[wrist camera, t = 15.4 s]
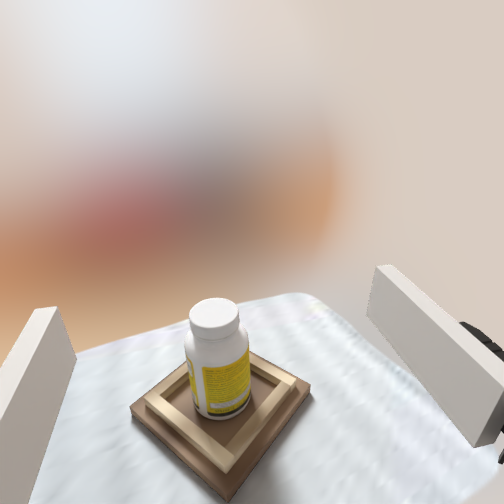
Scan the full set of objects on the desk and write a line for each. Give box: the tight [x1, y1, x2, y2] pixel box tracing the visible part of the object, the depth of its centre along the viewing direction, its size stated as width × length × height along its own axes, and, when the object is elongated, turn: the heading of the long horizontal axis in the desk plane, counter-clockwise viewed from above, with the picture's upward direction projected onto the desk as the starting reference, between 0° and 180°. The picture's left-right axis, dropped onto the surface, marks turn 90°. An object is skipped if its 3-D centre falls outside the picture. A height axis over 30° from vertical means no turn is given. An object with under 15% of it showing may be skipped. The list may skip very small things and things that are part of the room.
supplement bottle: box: [184, 298, 251, 420], centre depth 29 cm, size 5×5×10 cm
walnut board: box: [129, 351, 310, 503], centre depth 31 cm, size 12×12×2 cm
